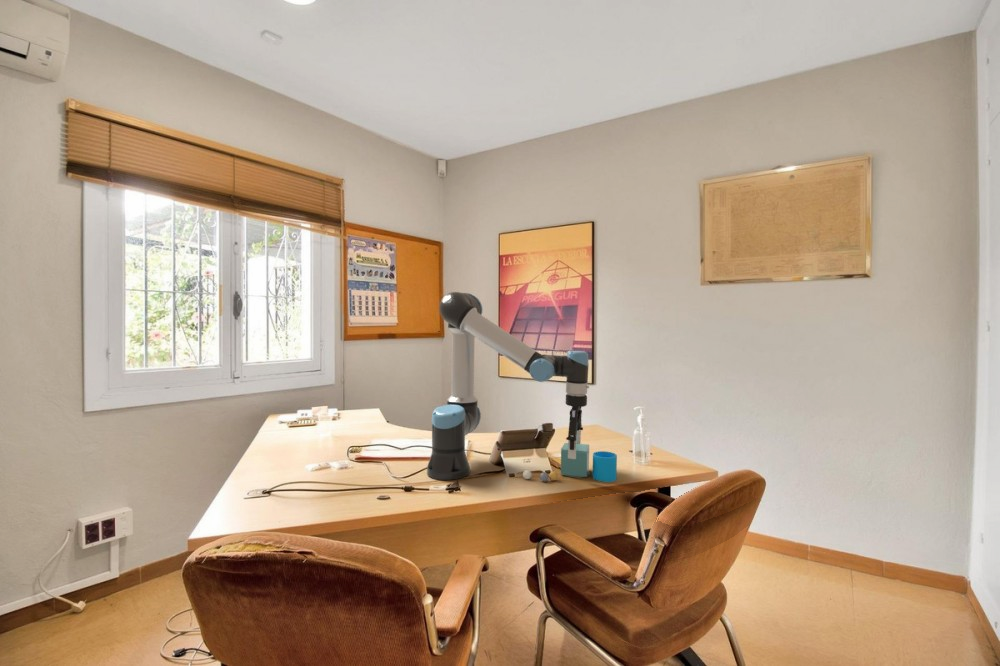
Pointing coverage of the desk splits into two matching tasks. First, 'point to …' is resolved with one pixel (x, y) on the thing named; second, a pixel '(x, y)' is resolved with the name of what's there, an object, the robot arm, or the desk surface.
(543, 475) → the marble slate
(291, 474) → the desk surface
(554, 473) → the marble amber
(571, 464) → the matte teal cube
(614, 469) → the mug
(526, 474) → the marble white
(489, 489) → the desk surface
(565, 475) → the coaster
